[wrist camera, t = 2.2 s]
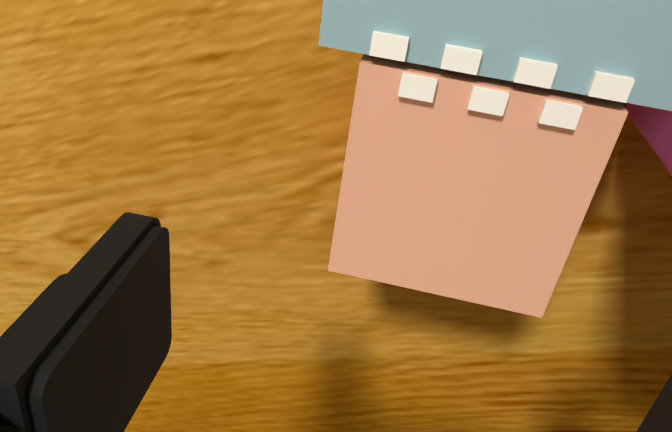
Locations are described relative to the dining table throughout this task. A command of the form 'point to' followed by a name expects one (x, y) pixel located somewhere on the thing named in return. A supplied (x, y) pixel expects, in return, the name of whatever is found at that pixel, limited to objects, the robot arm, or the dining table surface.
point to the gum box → (655, 130)
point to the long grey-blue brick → (520, 41)
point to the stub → (467, 182)
